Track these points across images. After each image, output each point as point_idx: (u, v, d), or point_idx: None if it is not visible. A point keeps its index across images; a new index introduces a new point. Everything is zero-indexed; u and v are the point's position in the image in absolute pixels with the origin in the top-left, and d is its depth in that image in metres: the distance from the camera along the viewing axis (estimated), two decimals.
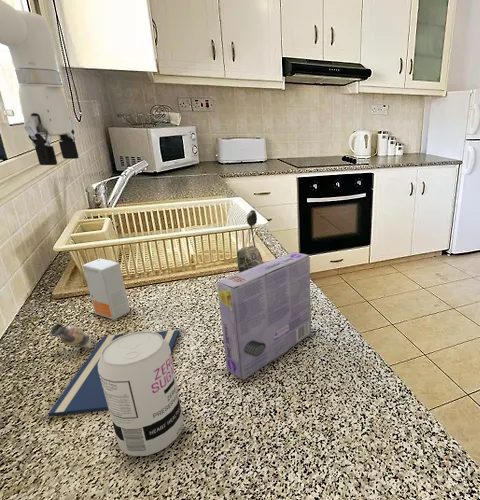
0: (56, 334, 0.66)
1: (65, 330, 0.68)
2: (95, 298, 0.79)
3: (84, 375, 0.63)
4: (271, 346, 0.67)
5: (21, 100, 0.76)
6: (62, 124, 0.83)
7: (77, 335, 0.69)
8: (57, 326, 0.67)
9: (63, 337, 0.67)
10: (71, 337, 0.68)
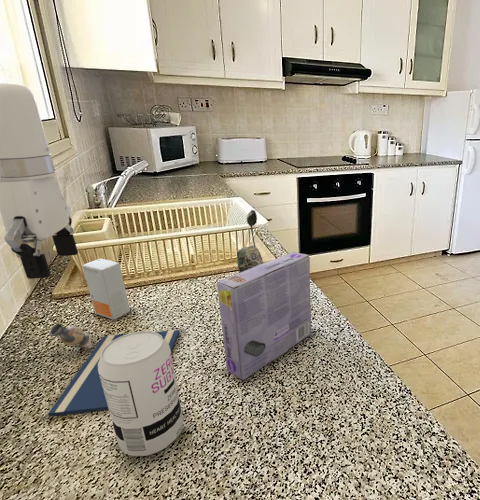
0: (56, 334, 0.66)
1: (65, 330, 0.68)
2: (95, 298, 0.79)
3: (84, 375, 0.63)
4: (271, 346, 0.67)
5: (0, 200, 0.56)
6: (56, 221, 0.63)
7: (77, 335, 0.69)
8: (57, 326, 0.67)
9: (63, 337, 0.67)
10: (71, 337, 0.68)
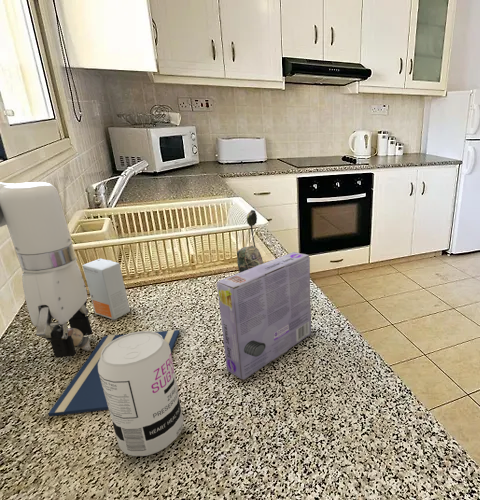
0: None
1: None
2: (95, 298, 0.79)
3: (84, 375, 0.63)
4: (271, 346, 0.67)
5: (26, 291, 0.60)
6: (76, 302, 0.67)
7: (75, 337, 0.68)
8: (56, 327, 0.67)
9: None
10: None
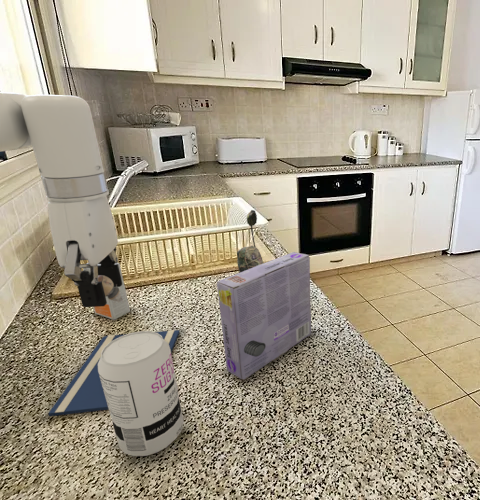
0: None
1: None
2: None
3: (84, 375, 0.63)
4: (271, 346, 0.67)
5: (52, 223, 0.51)
6: (107, 243, 0.58)
7: (106, 285, 0.59)
8: None
9: None
10: None
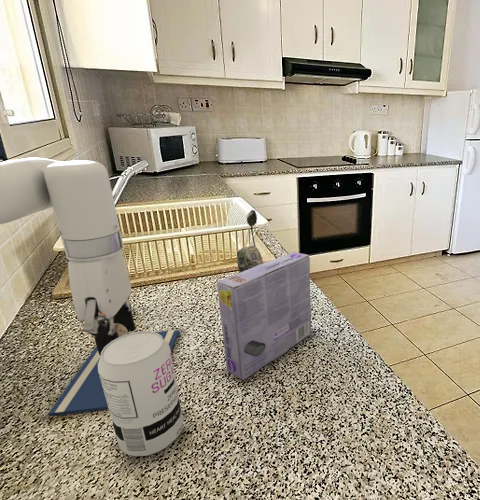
0: None
1: None
2: None
3: (84, 375, 0.63)
4: (271, 346, 0.67)
5: (72, 282, 0.54)
6: (122, 294, 0.61)
7: (120, 333, 0.62)
8: (100, 322, 0.61)
9: None
10: None
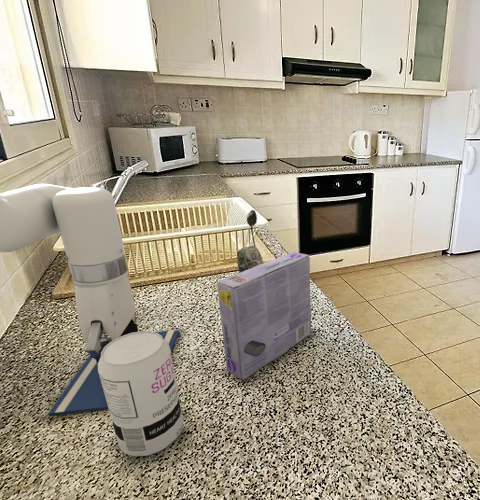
0: None
1: None
2: None
3: (84, 375, 0.63)
4: (271, 346, 0.67)
5: (78, 306, 0.56)
6: (126, 315, 0.62)
7: None
8: (104, 342, 0.62)
9: None
10: None
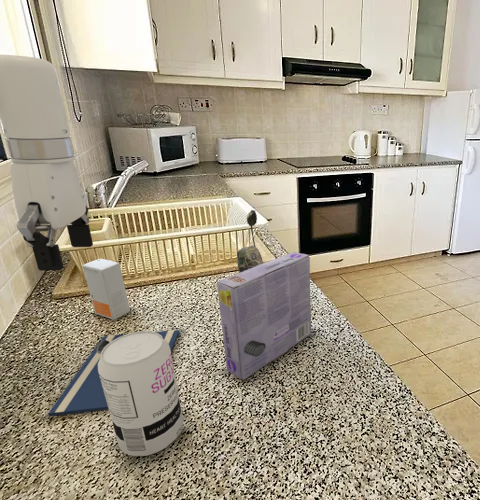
0: None
1: None
2: (95, 298, 0.79)
3: (84, 375, 0.63)
4: (271, 346, 0.67)
5: (14, 184, 0.52)
6: (72, 209, 0.58)
7: None
8: (104, 342, 0.62)
9: None
10: None
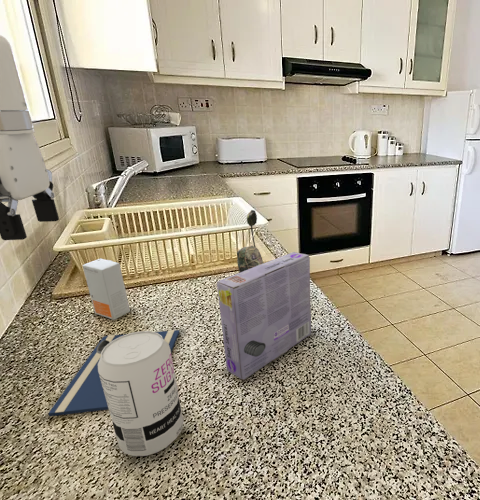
0: None
1: None
2: (95, 298, 0.79)
3: (84, 375, 0.63)
4: (271, 346, 0.67)
5: None
6: (34, 181, 0.61)
7: None
8: (104, 342, 0.62)
9: None
10: None
